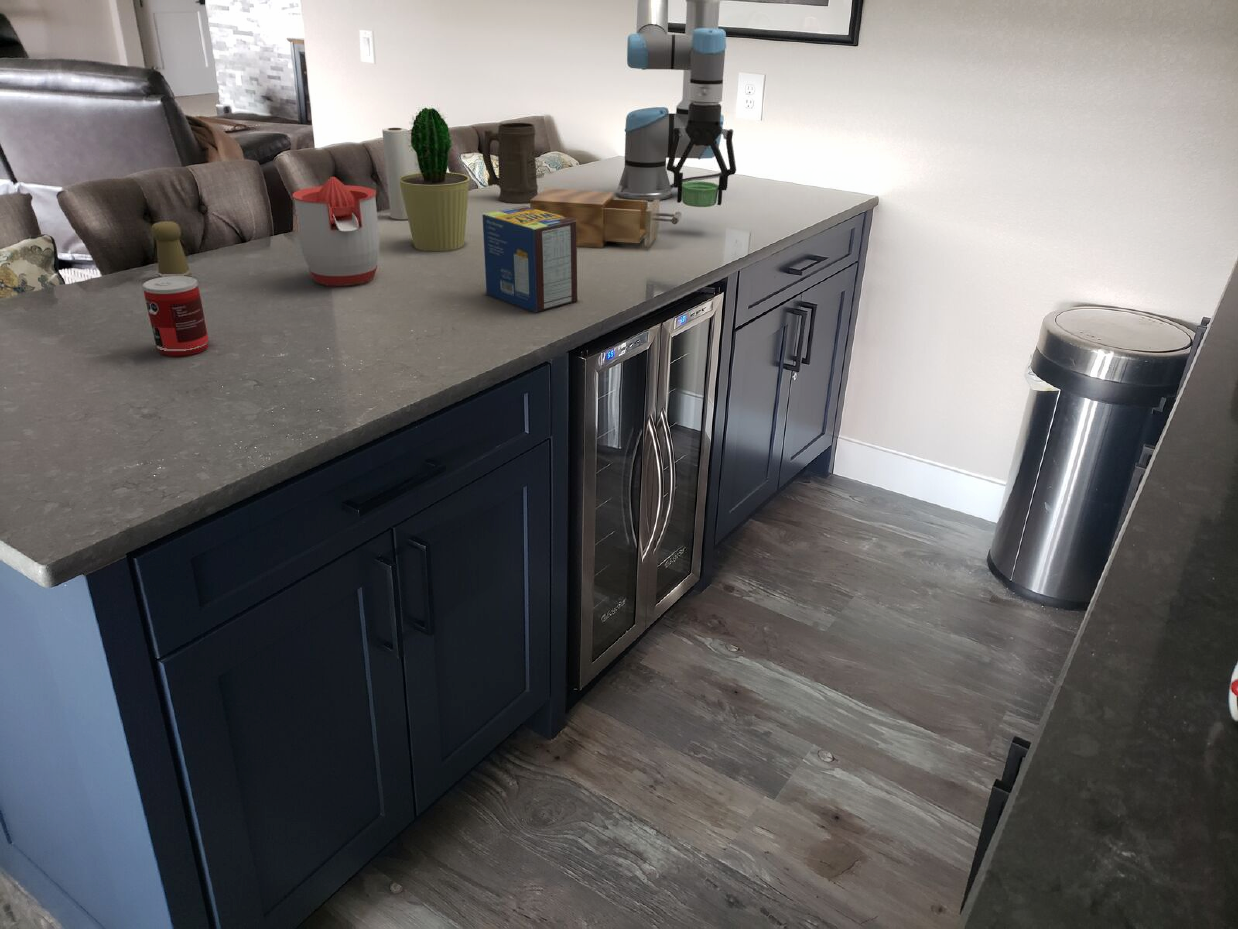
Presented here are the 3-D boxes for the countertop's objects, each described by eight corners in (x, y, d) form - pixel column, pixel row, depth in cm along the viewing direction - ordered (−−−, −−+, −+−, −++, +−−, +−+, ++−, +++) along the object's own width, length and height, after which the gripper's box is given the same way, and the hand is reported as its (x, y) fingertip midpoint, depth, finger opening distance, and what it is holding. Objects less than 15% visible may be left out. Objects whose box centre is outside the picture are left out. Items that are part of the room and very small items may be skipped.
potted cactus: (487, 245, 212) (480, 105, 198) (432, 257, 202) (421, 110, 188) (445, 233, 221) (436, 98, 207) (391, 244, 211) (377, 103, 197)
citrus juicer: (314, 297, 176) (300, 188, 166) (297, 273, 189) (282, 172, 180) (396, 287, 182) (386, 182, 173) (373, 264, 196) (363, 166, 186)
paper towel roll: (385, 218, 233) (376, 129, 223) (399, 213, 238) (391, 126, 228) (410, 221, 231) (402, 131, 221) (423, 216, 236) (416, 128, 226)
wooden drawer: (682, 234, 220) (684, 201, 216) (675, 248, 209) (676, 212, 205) (594, 229, 224) (594, 195, 220) (582, 241, 213) (582, 206, 209)
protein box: (526, 283, 186) (524, 205, 179) (578, 301, 176) (578, 219, 169) (484, 294, 179) (480, 212, 172) (536, 313, 170) (533, 228, 162)
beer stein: (544, 195, 261) (537, 120, 251) (537, 203, 251) (530, 125, 242) (490, 197, 262) (482, 122, 253) (482, 205, 253) (473, 128, 244)
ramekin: (707, 209, 218) (708, 190, 216) (673, 204, 222) (674, 185, 220) (724, 202, 224) (725, 184, 222) (691, 197, 228) (692, 179, 226)
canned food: (166, 340, 153) (152, 275, 148) (216, 340, 154) (203, 275, 149) (149, 357, 147) (134, 289, 142) (201, 356, 147) (188, 289, 142)
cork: (198, 275, 187) (188, 220, 181) (177, 283, 181) (165, 227, 176) (174, 272, 188) (163, 217, 183) (152, 280, 183) (139, 224, 178)
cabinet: (613, 233, 224) (614, 192, 219) (602, 247, 212) (602, 204, 207) (546, 229, 226) (545, 188, 222) (531, 242, 214) (530, 199, 210)
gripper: (655, 102, 211) (652, 203, 221) (751, 107, 207) (743, 208, 218) (660, 98, 217) (657, 196, 228) (753, 102, 214) (745, 201, 224)
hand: (699, 202), depth 223 cm, fingers closed on ramekin, 9 cm apart
